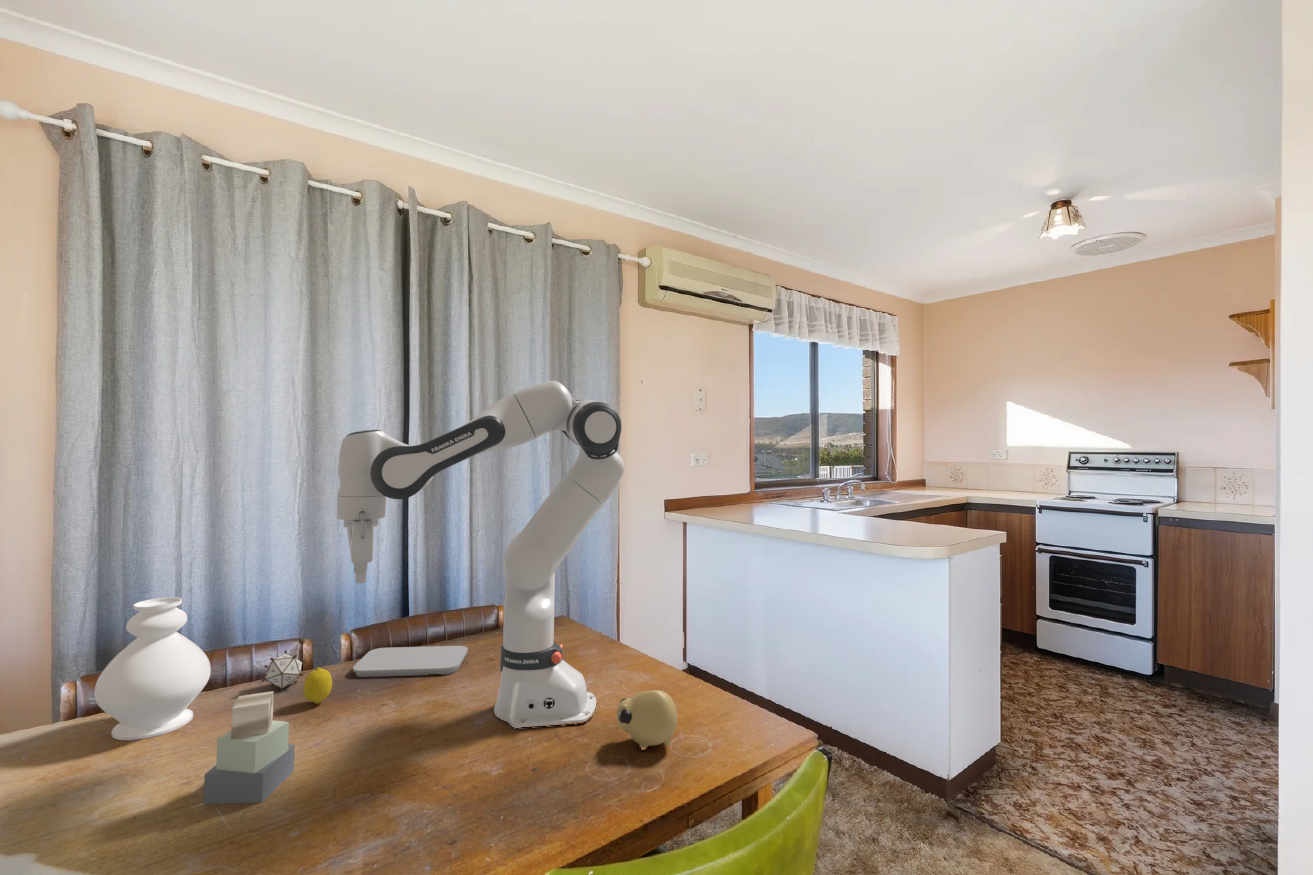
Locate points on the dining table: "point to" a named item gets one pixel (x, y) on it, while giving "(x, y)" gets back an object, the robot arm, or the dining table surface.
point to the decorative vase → (153, 674)
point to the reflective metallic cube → (252, 715)
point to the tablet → (410, 661)
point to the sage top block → (252, 749)
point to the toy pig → (648, 717)
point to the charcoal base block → (247, 781)
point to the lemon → (317, 685)
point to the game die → (283, 670)
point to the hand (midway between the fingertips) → (359, 577)
